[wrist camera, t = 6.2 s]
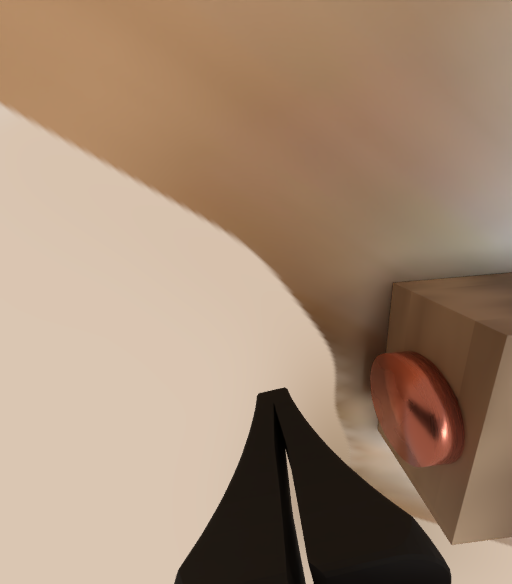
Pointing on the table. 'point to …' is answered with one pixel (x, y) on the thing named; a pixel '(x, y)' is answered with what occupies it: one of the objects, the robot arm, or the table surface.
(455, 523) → the block
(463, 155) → the table surface
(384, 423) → the pin
